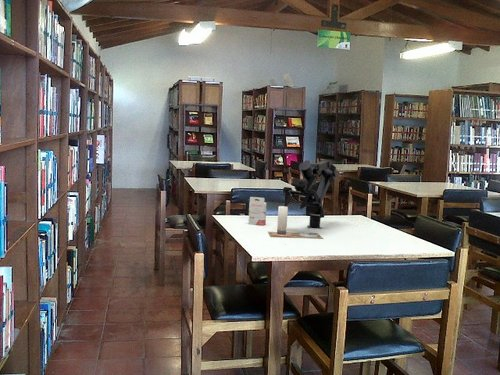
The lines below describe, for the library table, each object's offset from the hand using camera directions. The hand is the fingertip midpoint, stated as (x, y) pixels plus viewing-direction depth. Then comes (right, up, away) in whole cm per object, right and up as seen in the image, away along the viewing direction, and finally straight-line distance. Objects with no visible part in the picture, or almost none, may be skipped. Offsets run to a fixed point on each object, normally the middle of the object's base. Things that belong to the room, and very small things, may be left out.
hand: (292, 207), depth 249 cm
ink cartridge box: (-17, -10, +25) cm, 32 cm away
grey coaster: (+7, -14, -4) cm, 16 cm away
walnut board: (+1, -14, -4) cm, 15 cm away
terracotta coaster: (-6, -13, -5) cm, 15 cm away
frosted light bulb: (-6, -13, -5) cm, 15 cm away
